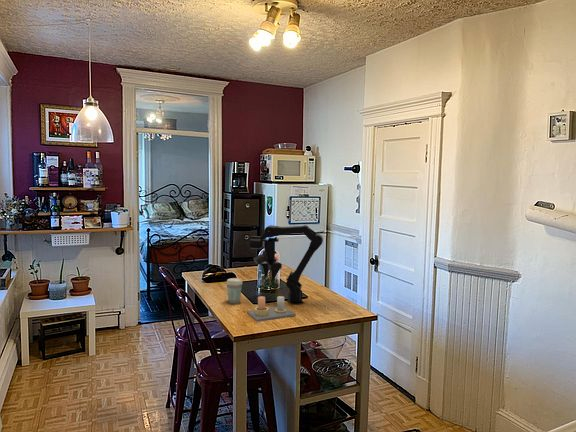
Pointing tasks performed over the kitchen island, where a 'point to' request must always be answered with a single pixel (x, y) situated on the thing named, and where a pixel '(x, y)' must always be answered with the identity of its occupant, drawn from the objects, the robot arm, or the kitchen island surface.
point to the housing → (272, 311)
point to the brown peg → (261, 303)
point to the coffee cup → (234, 290)
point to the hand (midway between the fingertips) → (269, 278)
